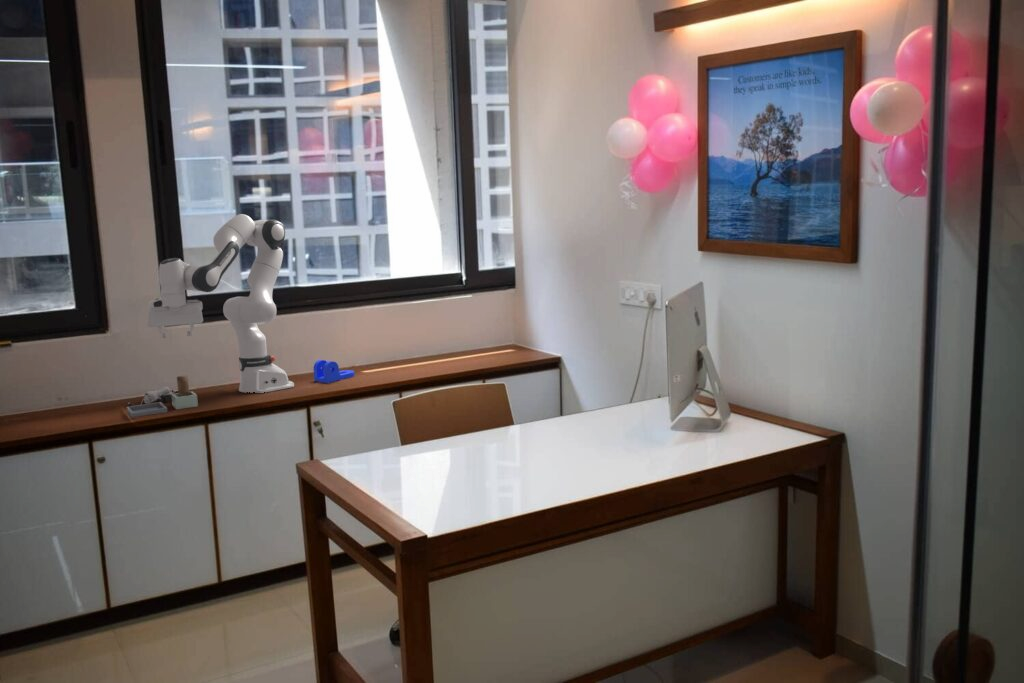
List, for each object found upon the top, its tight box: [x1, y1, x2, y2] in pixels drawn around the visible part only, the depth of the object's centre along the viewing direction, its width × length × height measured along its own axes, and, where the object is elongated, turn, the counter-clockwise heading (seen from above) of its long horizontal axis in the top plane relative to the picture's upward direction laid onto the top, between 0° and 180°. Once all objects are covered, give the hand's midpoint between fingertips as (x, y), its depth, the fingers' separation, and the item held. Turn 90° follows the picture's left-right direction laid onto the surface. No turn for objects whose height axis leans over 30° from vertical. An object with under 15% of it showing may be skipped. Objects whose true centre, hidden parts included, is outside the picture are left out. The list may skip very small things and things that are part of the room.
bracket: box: [313, 359, 355, 384], centre depth 405 cm, size 18×8×9 cm, turn 142°
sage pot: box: [171, 390, 199, 410], centre depth 359 cm, size 8×8×6 cm
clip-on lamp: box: [128, 386, 178, 407], centre depth 368 cm, size 12×6×18 cm
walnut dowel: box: [176, 375, 190, 397], centre depth 358 cm, size 4×4×12 cm
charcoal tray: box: [126, 401, 168, 421], centre depth 352 cm, size 13×13×2 cm
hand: (176, 336), depth 356 cm, fingers open, 8 cm apart
